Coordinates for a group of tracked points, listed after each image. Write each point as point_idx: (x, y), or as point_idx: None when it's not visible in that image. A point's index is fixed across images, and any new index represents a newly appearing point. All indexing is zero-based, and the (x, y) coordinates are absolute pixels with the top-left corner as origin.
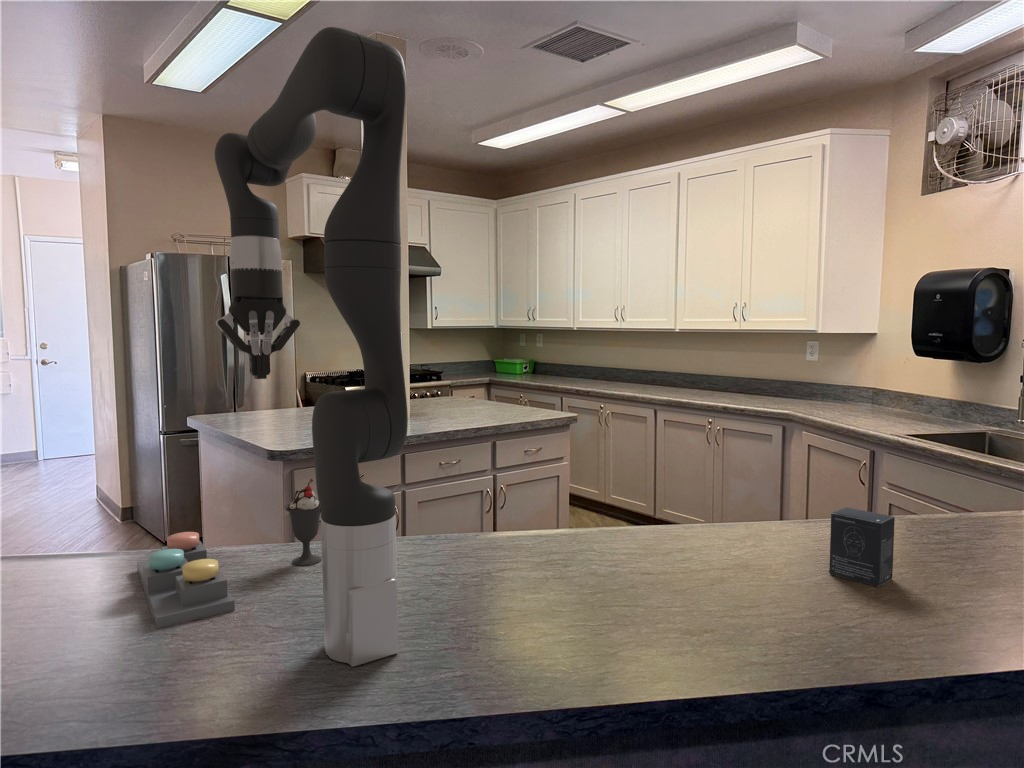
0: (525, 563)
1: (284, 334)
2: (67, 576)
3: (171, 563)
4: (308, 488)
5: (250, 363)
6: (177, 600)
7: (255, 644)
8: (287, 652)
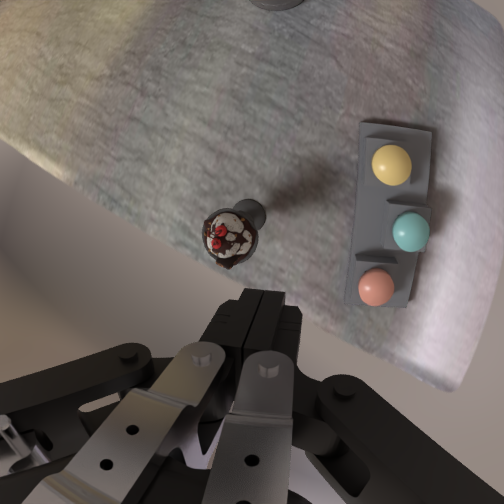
0: (78, 85)
1: (55, 393)
2: (449, 326)
3: (410, 212)
4: (216, 239)
5: (297, 355)
6: None
7: (358, 38)
8: (336, 9)
